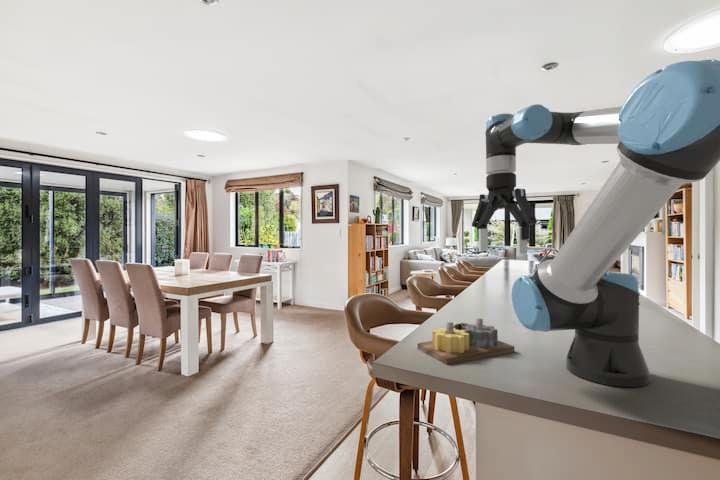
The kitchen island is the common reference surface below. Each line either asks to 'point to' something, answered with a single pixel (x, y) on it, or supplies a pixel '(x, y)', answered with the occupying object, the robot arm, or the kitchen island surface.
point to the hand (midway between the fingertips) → (501, 252)
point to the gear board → (470, 344)
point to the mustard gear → (451, 340)
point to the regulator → (459, 326)
